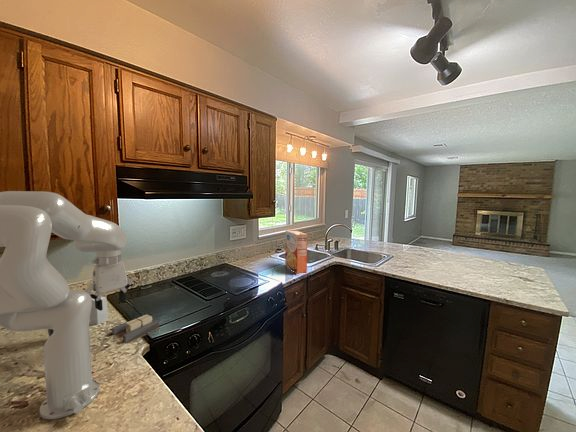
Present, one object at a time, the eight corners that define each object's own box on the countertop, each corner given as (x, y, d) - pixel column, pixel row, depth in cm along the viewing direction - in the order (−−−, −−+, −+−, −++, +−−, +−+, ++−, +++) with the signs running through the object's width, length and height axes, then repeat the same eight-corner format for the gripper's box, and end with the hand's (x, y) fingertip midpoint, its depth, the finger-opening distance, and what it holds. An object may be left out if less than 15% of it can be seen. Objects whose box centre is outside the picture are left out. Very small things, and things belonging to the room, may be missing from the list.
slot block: (160, 331, 104) (160, 322, 104) (127, 347, 93) (126, 337, 93) (143, 322, 111) (143, 314, 110) (111, 336, 100) (110, 327, 99)
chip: (141, 330, 102) (141, 321, 101) (131, 335, 98) (130, 325, 98) (136, 327, 104) (136, 318, 103) (126, 332, 100) (125, 322, 100)
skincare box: (108, 323, 110) (107, 297, 109) (97, 327, 106) (96, 301, 105) (100, 320, 112) (99, 295, 111) (89, 324, 109) (88, 298, 108)
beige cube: (152, 325, 106) (152, 316, 105) (143, 330, 102) (142, 320, 102) (147, 323, 108) (147, 314, 107) (138, 327, 104) (137, 318, 104)
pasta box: (285, 266, 200) (285, 230, 197) (294, 265, 203) (294, 229, 200) (296, 275, 179) (297, 234, 176) (306, 274, 182) (307, 234, 179)
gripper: (84, 267, 82) (87, 318, 84) (138, 256, 97) (140, 299, 99) (75, 263, 86) (78, 312, 88) (128, 254, 101) (130, 295, 103)
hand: (111, 305), depth 93 cm, fingers open, 6 cm apart
